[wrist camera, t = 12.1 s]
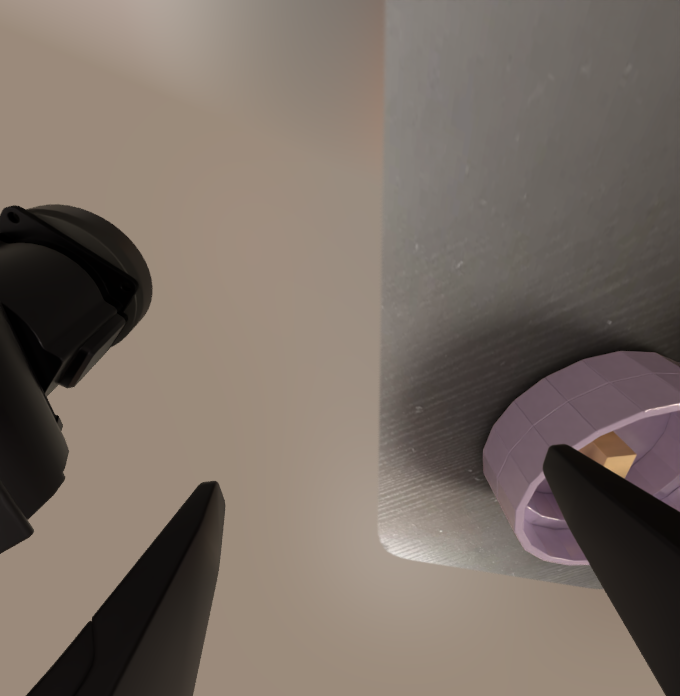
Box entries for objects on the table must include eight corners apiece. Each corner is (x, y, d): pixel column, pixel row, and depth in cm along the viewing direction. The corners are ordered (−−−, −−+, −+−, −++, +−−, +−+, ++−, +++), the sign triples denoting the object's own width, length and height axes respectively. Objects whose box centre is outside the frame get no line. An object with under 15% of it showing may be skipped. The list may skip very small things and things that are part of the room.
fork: (582, 486, 29) (608, 519, 27) (548, 489, 29) (571, 524, 27) (629, 376, 24) (668, 405, 21) (588, 380, 23) (622, 410, 21)
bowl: (438, 448, 27) (466, 516, 22) (630, 301, 21) (721, 349, 17) (546, 520, 32) (587, 586, 28) (717, 419, 27) (803, 478, 22)
